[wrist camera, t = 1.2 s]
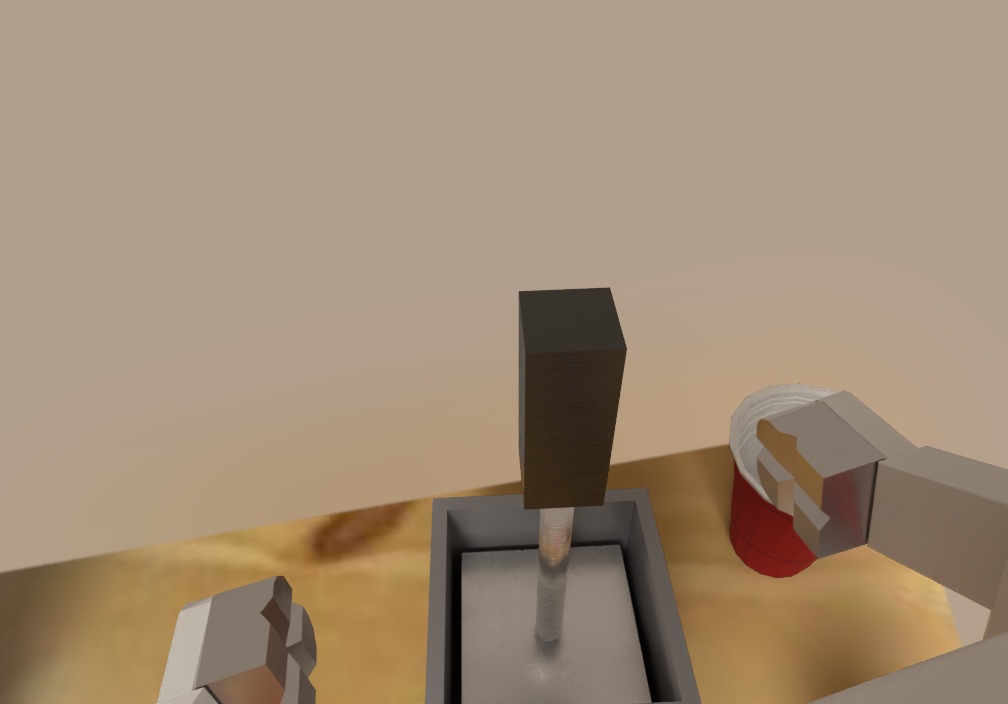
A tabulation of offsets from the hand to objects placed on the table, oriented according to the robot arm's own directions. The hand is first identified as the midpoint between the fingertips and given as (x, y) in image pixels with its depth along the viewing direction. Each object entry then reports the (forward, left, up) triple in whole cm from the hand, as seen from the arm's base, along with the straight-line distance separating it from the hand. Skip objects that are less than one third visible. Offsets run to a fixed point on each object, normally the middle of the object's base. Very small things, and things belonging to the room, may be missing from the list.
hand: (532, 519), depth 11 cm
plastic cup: (+20, +20, -35) cm, 45 cm away
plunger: (+2, +10, -26) cm, 27 cm away
